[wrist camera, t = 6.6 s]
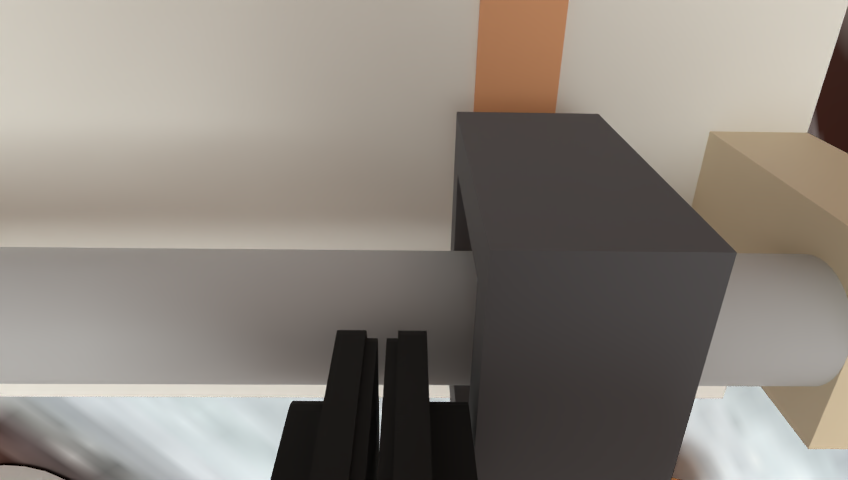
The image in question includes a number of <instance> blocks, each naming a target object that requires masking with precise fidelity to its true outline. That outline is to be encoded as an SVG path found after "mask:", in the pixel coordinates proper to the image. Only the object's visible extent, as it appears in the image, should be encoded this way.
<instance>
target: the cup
mask: <svg viewBox="0 0 848 480" xmlns="http://www.w3.org/2000/svg"><path fill="white" fill-rule="evenodd" d="M0 480H65V479H62V478H60V477H58V476H55V475H53V474H51V473H48V472H46V471H42V470H37V469H33V468H29V467H25V466H10V465H1V466H0Z"/></svg>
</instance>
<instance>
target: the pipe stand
mask: <svg viewBox="0 0 848 480" xmlns="http://www.w3.org/2000/svg"><path fill="white" fill-rule="evenodd" d="M847 6H848V0H0V396H31V397H324V396H325V391H326V386H327V380H328V375H329V370H330V364H331V359H332V354H333V348H334V343H335V338H336V333H337V330H366V331H367V338H378V377H379V397H383V387H384V371H385V355H386V340H387V338H398V330H399V331H427V350H428V377H429V398H450V390H449V385H470V378H471V364H472V349H473V335H474V320H475V306H476V291H477V275H476V269H475V264H474V258H473V253H472V251H451V228H452V206H453V183H454V161H455V139H456V116H457V112H510V113H580V114H599V115H600V116H601V117H602V118H603V119H604V120H605V121H606V122H607V123H608V124H609V125H610V126H611V127H612V128H613V129H614V130H615V131H616V132H617V133H618V134H619V135H620V136H621V137H622V138H623V139H624V140H625V141H626V142H627V143H628V144H629V145H630V146H631V147H632V148H633V149H634V150H635V151H636V152H637V153H638V154H639V155H640V156H641V157H642V158H643V159H644V160H645V161H646V162H647V163H648V164H649V165H650V166H651V167H652V168H653V169H654V170H655V171H656V172H657V173H658V174H659V175H660V176H661V177H662V178H663V179H664V180H665V181H666V182H667V183H668V184H669V185H670V186H671V187H672V188H673V189H674V190H675V191H676V192H677V193H678V194H679V195H680V196H681V197H682V198H683V199H684V200H685V201H686V202H687V203H688V204H689V205H690V206H691V207H692V208H693V209H694V210H695V211H696V212H697V213H698V214H699V215H700V216H701V217H702V218H703V219H704V220H705V221H706V222H707V223H708V224H709V225H710V226H711V227H712V228H713V229H714V230H715V231H716V232H717V233H718V234H719V235H720V236H721V237H722V238H723V239H724V240H725V241H726V242H727V243H728V244H729V245H730V246H731V247H732V248H733V249H734V250H735V251H736V252H737V255H736V258H735V262H734V265H733V268H732V272H731V275H730V279H729V282H728V286H727V289H726V293H725V296H724V299H723V303H722V306H721V310H720V313H719V317H718V320H717V324H716V327H715V330H714V334H713V337H712V341H711V344H710V348H709V351H708V354H707V358H706V361H705V365H704V368H703V372H702V375H701V379H700V382H699V385H698V389H697V392H696V396H695V398H723V396H724V393H725V390H726V387H727V386H761V387H762V389H763V390H764V391H765V393H766V394H767V395H768V397H769V398H770V399H771V401H772V402H773V403H774V404H775V406H776V407H777V408H778V410H779V411H780V412H781V414H782V415H783V416H784V418H785V419H786V420H787V422H788V423H789V424H790V426H791V427H792V428H793V429H794V431H795V432H796V433H797V435H798V436H799V437H800V439H801V440H802V441H803V443H804V444H805V445H806V447H807V448H808V449H848V154H847V153H846V152H844V151H842V150H840V149H838V148H836V147H834V146H832V145H830V144H828V143H826V142H824V141H822V140H820V139H819V138H817V137H815V136H813V135H811V134H809V133H807V132H808V129H809V126H810V123H811V120H812V116H813V113H814V110H815V107H816V104H817V101H818V97H819V94H820V91H821V88H822V85H823V82H824V78H825V75H826V72H827V69H828V66H829V63H830V60H831V57H832V53H833V50H834V47H835V44H836V41H837V38H838V35H839V31H840V28H841V25H842V22H843V19H844V16H845V13H846V9H847Z"/></svg>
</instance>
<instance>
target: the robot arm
mask: <svg viewBox="0 0 848 480" xmlns="http://www.w3.org/2000/svg"><path fill="white" fill-rule="evenodd" d="M271 480H478V478H477V469H476V461H475V452H474V444H473V436H472V427H471V419H470V411H469V405H468V402H429V377H428V350H427V331H399V330H398V338H387V340H386V355H385V371H384V387H383V403H382V419H381V435H380V451H379V377H378V338H367V331H366V330H337V333H336V338H335V343H334V348H333V354H332V359H331V364H330V370H329V375H328V380H327V386H326V391H325V396H324V401H292V403H291V404H290V407H289V410H288V414H287V418H286V422H285V426H284V429H283V433H282V437H281V441H280V445H279V449H278V453H277V457H276V461H275V464H274V468H273V472H272V476H271Z"/></svg>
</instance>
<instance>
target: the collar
mask: <svg viewBox="0 0 848 480" xmlns="http://www.w3.org/2000/svg"><path fill="white" fill-rule="evenodd" d="M451 251H472V253H473V258H474V264H475V269H476V275H477V291H476V306H475V320H474V335H473V349H472V364H471V378H470V385H449V390H450V402H468V405H469V411H470V419H471V427H472V436H473V444H474V452H475V461H476V469H477V478H478V480H671V478H672V475H673V472H674V468H675V465H676V461H677V458H678V454H679V451H680V447H681V444H682V441H683V437H684V434H685V430H686V427H687V423H688V420H689V416H690V413H691V410H692V406H693V403H694V399H695V396H696V392H697V389H698V385H699V382H700V379H701V375H702V372H703V368H704V365H705V361H706V358H707V354H708V351H709V348H710V344H711V341H712V337H713V334H714V330H715V327H716V324H717V320H718V317H719V313H720V310H721V306H722V303H723V299H724V296H725V293H726V289H727V286H728V282H729V279H730V275H731V272H732V268H733V265H734V262H735V258H736V255H737V252H736V251H735V250H734V249H733V248H732V247H731V246H730V245H729V244H728V243H727V242H726V241H725V240H724V239H723V238H722V237H721V236H720V235H719V234H718V233H717V232H716V231H715V230H714V229H713V228H712V227H711V226H710V225H709V224H708V223H707V222H706V221H705V220H704V219H703V218H702V217H701V216H700V215H699V214H698V213H697V212H696V211H695V210H694V209H693V208H692V207H691V206H690V205H689V204H688V203H687V202H686V201H685V200H684V199H683V198H682V197H681V196H680V195H679V194H678V193H677V192H676V191H675V190H674V189H673V188H672V187H671V186H670V185H669V184H668V183H667V182H666V181H665V180H664V179H663V178H662V177H661V176H660V175H659V174H658V173H657V172H656V171H655V170H654V169H653V168H652V167H651V166H650V165H649V164H648V163H647V162H646V161H645V160H644V159H643V158H642V157H641V156H640V155H639V154H638V153H637V152H636V151H635V150H634V149H633V148H632V147H631V146H630V145H629V144H628V143H627V142H626V141H625V140H624V139H623V138H622V137H621V136H620V135H619V134H618V133H617V132H616V131H615V130H614V129H613V128H612V127H611V126H610V125H609V124H608V123H607V122H606V121H605V120H604V119H603V118H602V117H601V116H600V115H599V114H580V113H510V112H457V116H456V139H455V161H454V183H453V206H452V228H451Z"/></svg>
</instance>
